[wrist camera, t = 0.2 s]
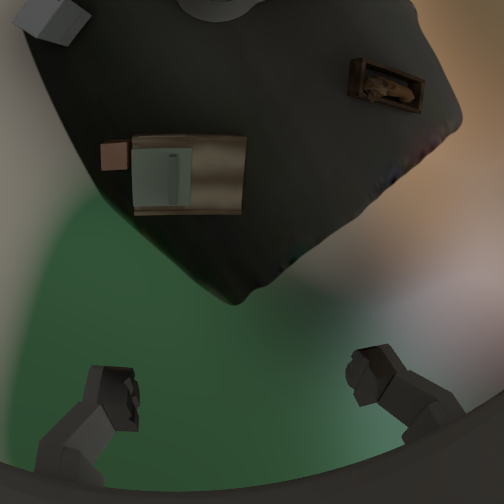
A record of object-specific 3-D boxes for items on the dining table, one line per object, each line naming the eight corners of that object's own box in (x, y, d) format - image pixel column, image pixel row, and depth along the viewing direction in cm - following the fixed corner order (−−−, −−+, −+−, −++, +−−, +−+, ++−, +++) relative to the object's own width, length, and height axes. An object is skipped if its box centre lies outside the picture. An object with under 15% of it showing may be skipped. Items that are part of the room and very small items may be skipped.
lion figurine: (348, 100, 50) (374, 102, 43) (347, 74, 48) (373, 72, 40) (406, 104, 52) (434, 109, 44) (406, 81, 50) (434, 82, 42)
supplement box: (68, 1, 30) (40, -17, 20) (93, 16, 34) (68, -3, 23) (43, 33, 32) (10, 22, 21) (67, 48, 36) (36, 38, 25)
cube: (108, 140, 46) (100, 144, 42) (132, 138, 47) (126, 142, 43) (109, 164, 48) (101, 170, 44) (132, 163, 49) (126, 169, 45)
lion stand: (350, 59, 46) (362, 57, 42) (411, 79, 49) (424, 80, 46) (347, 95, 50) (358, 95, 46) (407, 111, 53) (420, 114, 49)
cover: (132, 148, 45) (128, 151, 42) (191, 147, 47) (191, 150, 44) (134, 204, 49) (130, 211, 47) (190, 204, 51) (190, 210, 49)
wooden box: (136, 134, 47) (131, 137, 43) (243, 134, 51) (247, 137, 47) (138, 208, 53) (134, 216, 50) (237, 207, 57) (241, 215, 54)
